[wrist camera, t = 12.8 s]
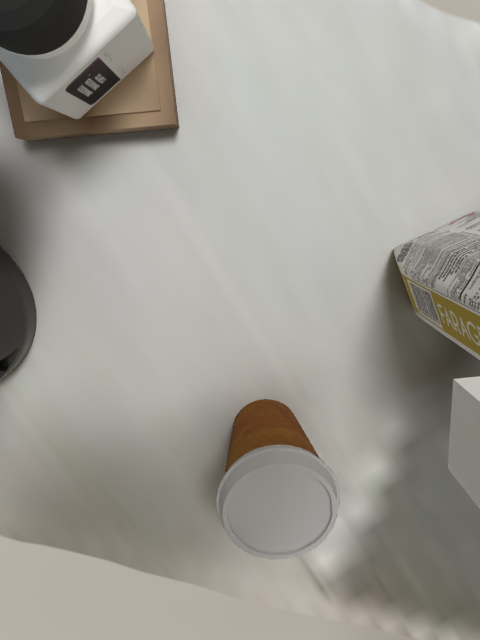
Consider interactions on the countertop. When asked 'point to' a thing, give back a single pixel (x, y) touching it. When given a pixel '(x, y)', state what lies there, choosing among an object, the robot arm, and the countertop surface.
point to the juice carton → (446, 279)
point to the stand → (109, 94)
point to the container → (71, 49)
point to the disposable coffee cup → (275, 485)
